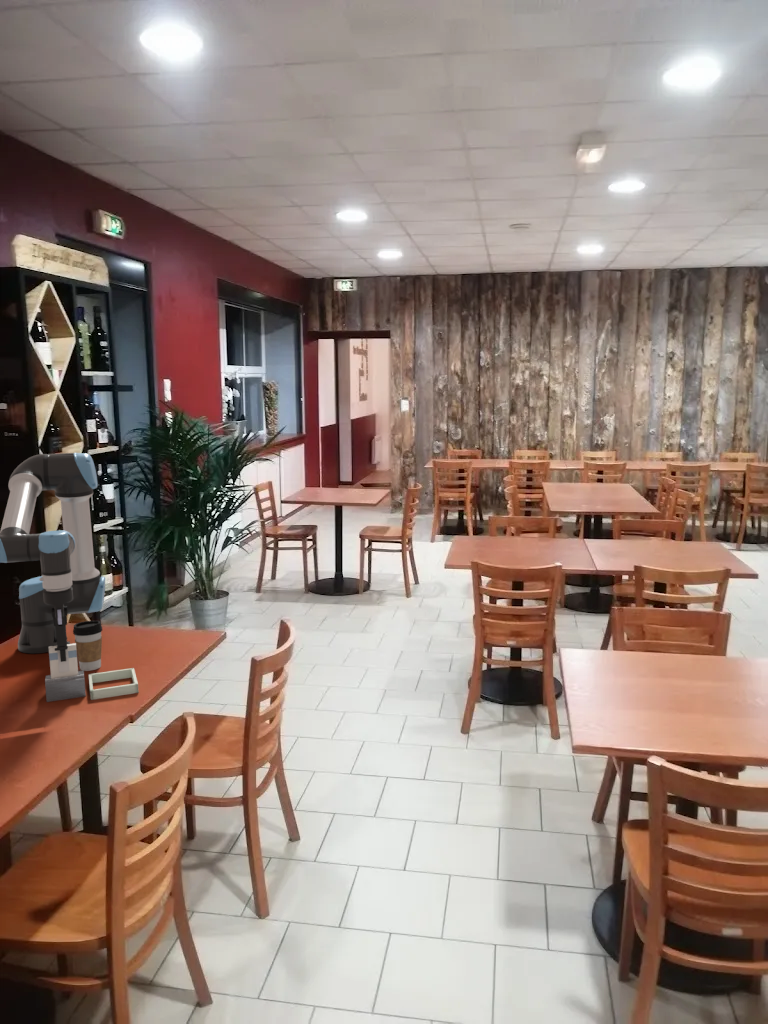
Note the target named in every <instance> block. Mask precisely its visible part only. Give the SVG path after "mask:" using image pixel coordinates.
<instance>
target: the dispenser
mask: <svg viewBox="0 0 768 1024" xmlns="http://www.w3.org/2000/svg"><path fill="white" fill-rule="evenodd" d="M44 683H45V684H44V686H45V687H44V688H45V700H46V703H49V702H56V701H63V700H69V699H76V698H84V697H87V695H86V681H85V671H84V670H78V675H73V676H66V677H58V678H51V674H48V675H45V679H44Z"/></svg>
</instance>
